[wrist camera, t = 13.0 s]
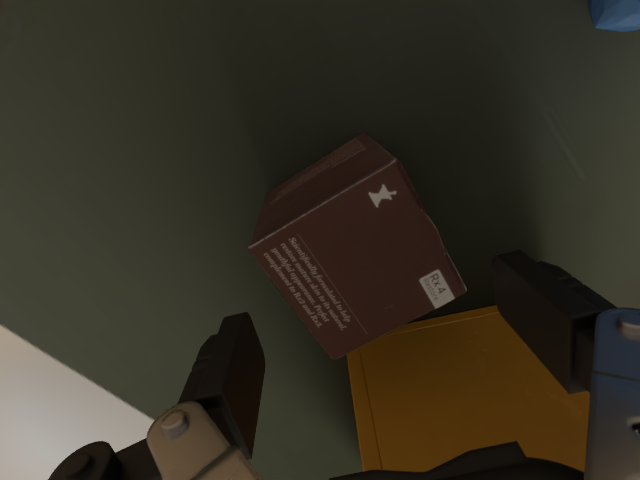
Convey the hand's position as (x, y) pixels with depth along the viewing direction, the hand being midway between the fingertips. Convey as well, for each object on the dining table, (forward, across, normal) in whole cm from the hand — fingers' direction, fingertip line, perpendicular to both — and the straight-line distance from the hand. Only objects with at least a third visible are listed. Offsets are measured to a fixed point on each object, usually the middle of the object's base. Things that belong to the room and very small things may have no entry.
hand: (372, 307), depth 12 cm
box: (+9, 0, -1) cm, 9 cm away
